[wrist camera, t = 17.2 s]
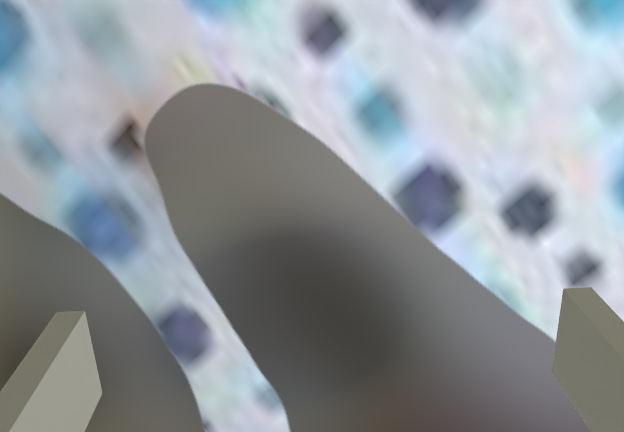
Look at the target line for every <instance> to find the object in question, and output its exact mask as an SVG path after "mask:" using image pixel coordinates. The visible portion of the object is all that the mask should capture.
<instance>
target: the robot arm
mask: <svg viewBox="0 0 624 432" xmlns="http://www.w3.org/2000/svg"><path fill="white" fill-rule="evenodd" d="M552 372H553V374H554V376H555V377H556V379H557V380H558V382H559V383H560V385H561V386H562V388H563V390H564V391H565V393H566V394H567V396H568V397H569V399H570V400H571V402H572V403H573V405H574V407H575V408H576V410H577V411H578V413H579V414H580V416H581V417H582V419H583V421H584V422H585V424H586V425H587V427H588V428H589V430H590V431H591V432H624V322H623V321H622V320H621V319H620V317H619V316H618V315H617V314H616V313H615V312H614V311H613V310H612V309H611V308H610V307H609V306H608V305H607V304H606V303H605V302H604V301H603V299H602V298H601V297H600V296H599V295H598V294H597V293H596V292H595V291H594V290H593V289H592V288H591V287H590V288H569V289H563V295H562V303H561V310H560V317H559V324H558V331H557V338H556V345H555V353H554V360H553V367H552ZM101 395H102V390H101V385H100V380H99V376H98V371H97V366H96V362H95V357H94V352H93V348H92V343H91V338H90V333H89V329H88V324H87V319H86V315H85V311H75V312H57V313H56V314H55V315H54V317H53V318H52V320H51V321H50V322H49V324H48V325H47V327H46V328H45V330H44V331H43V332H42V334H41V335H40V337H39V338H38V339H37V341H36V342H35V344H34V345H33V347H32V348H31V349H30V351H29V352H28V354H27V355H26V356H25V358H24V359H23V361H22V362H21V363H20V365H19V366H18V368H17V369H16V370H15V372H14V373H13V375H12V376H11V378H10V379H9V380H8V382H7V383H6V385H5V386H4V387H3V389H2V390H1V392H0V432H84V431H85V429H86V427H87V425H88V423H89V421H90V418H91V416H92V414H93V412H94V410H95V408H96V405H97V403H98V401H99V399H100V397H101Z"/></svg>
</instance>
